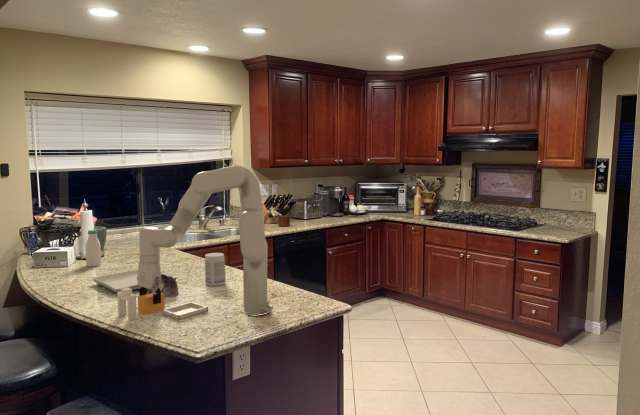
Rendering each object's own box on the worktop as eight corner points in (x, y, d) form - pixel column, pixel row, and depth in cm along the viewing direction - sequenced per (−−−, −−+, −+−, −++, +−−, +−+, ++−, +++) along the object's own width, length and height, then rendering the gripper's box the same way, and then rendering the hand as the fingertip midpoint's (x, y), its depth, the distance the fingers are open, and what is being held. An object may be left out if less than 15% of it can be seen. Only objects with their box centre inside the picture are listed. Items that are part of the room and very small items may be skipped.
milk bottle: (104, 265, 277) (102, 230, 275) (91, 267, 271) (90, 231, 269) (96, 263, 281) (94, 229, 279) (83, 265, 275) (81, 230, 273)
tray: (208, 311, 194) (208, 306, 194) (178, 320, 183) (178, 315, 183) (191, 306, 200) (191, 301, 200) (162, 314, 190) (162, 309, 190)
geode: (188, 296, 219) (186, 275, 217) (165, 305, 211) (162, 283, 209) (166, 285, 233) (163, 266, 231) (143, 293, 225) (140, 273, 223)
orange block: (164, 309, 196) (164, 293, 196) (144, 315, 189) (144, 298, 189) (158, 307, 199) (157, 291, 198) (138, 312, 192) (137, 296, 191)
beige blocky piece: (136, 318, 185) (135, 290, 183) (129, 320, 182) (128, 291, 181) (124, 313, 190) (123, 286, 189) (118, 315, 188) (117, 287, 186)
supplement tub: (226, 281, 244) (226, 252, 242) (223, 286, 235) (223, 256, 233) (207, 281, 244) (206, 252, 242) (203, 286, 234) (202, 256, 233)
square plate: (90, 285, 236) (90, 277, 236) (144, 275, 256) (144, 268, 256) (116, 296, 218) (115, 288, 217) (171, 285, 238) (171, 277, 237)
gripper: (129, 256, 194) (129, 298, 196) (153, 263, 184) (154, 307, 185) (146, 254, 200) (146, 294, 202) (170, 260, 189) (171, 303, 191)
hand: (150, 300), depth 194 cm, fingers open, 9 cm apart
